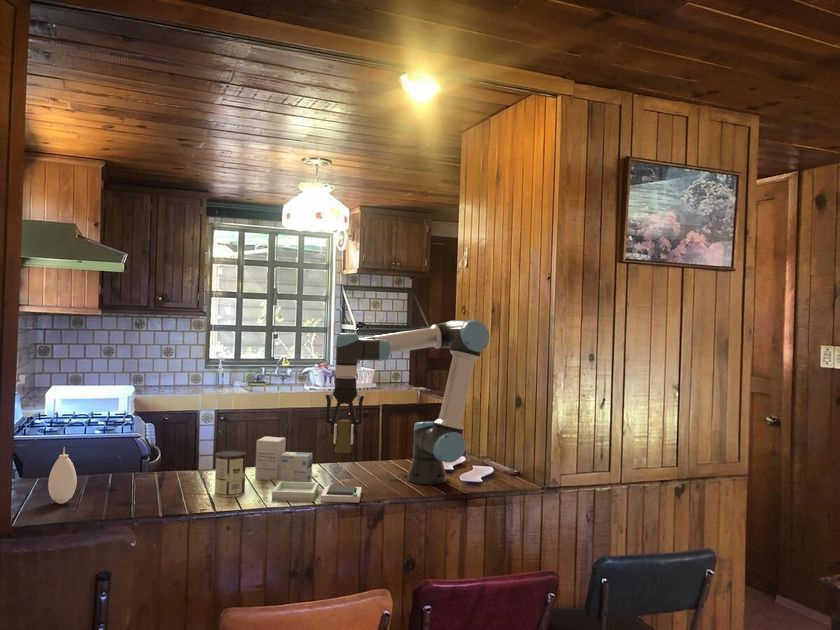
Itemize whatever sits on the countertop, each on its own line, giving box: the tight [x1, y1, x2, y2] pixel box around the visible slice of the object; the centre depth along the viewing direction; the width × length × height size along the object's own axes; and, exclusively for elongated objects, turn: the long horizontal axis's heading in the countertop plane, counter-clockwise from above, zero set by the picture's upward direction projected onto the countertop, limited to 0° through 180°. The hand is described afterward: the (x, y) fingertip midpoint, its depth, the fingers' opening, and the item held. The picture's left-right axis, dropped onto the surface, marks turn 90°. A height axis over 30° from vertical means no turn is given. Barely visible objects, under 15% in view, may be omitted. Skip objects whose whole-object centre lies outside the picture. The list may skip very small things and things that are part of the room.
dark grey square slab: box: [328, 484, 357, 495], centre depth 229 cm, size 9×9×2 cm
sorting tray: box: [271, 480, 320, 503], centre depth 229 cm, size 14×14×3 cm
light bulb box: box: [279, 451, 313, 482], centre depth 248 cm, size 11×7×11 cm, turn 84°
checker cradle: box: [320, 485, 362, 503], centre depth 229 cm, size 13×13×3 cm
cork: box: [334, 419, 353, 454], centre depth 229 cm, size 6×6×11 cm
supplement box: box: [254, 436, 287, 481], centre depth 253 cm, size 9×9×15 cm
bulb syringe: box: [47, 446, 78, 505], centre depth 210 cm, size 8×8×18 cm
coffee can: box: [214, 450, 247, 498], centre depth 228 cm, size 10×10×14 cm
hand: (343, 443), depth 229 cm, fingers closed on cork, 5 cm apart
